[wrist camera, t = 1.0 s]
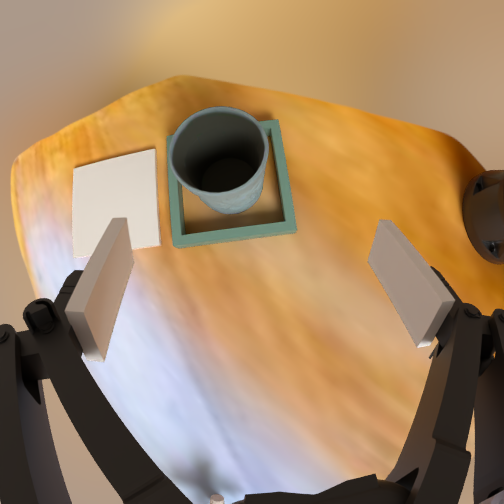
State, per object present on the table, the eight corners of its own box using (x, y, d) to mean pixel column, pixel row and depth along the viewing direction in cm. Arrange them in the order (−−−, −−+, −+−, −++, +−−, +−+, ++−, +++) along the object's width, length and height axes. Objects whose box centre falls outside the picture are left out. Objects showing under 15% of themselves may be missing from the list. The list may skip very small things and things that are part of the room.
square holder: (277, 127, 43) (278, 119, 40) (294, 233, 41) (296, 229, 39) (171, 143, 43) (166, 136, 41) (178, 248, 41) (173, 246, 39)
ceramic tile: (156, 150, 43) (154, 148, 42) (161, 245, 42) (159, 244, 41) (76, 170, 43) (73, 168, 43) (76, 258, 42) (73, 257, 41)
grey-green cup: (280, 199, 42) (287, 165, 30) (212, 234, 42) (192, 214, 30) (245, 138, 43) (239, 91, 31) (180, 171, 43) (154, 133, 31)
